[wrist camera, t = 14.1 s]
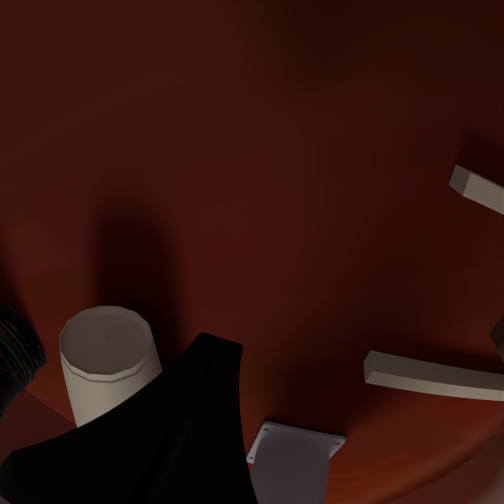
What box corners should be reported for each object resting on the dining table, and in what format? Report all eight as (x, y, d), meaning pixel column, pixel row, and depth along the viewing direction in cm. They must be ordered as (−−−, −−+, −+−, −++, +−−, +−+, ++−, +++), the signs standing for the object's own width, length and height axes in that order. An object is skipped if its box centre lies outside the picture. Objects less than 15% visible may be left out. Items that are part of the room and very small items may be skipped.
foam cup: (185, 301, 23) (184, 401, 29) (71, 284, 22) (97, 385, 28) (162, 412, 14) (173, 486, 21) (14, 374, 14) (71, 462, 20)
